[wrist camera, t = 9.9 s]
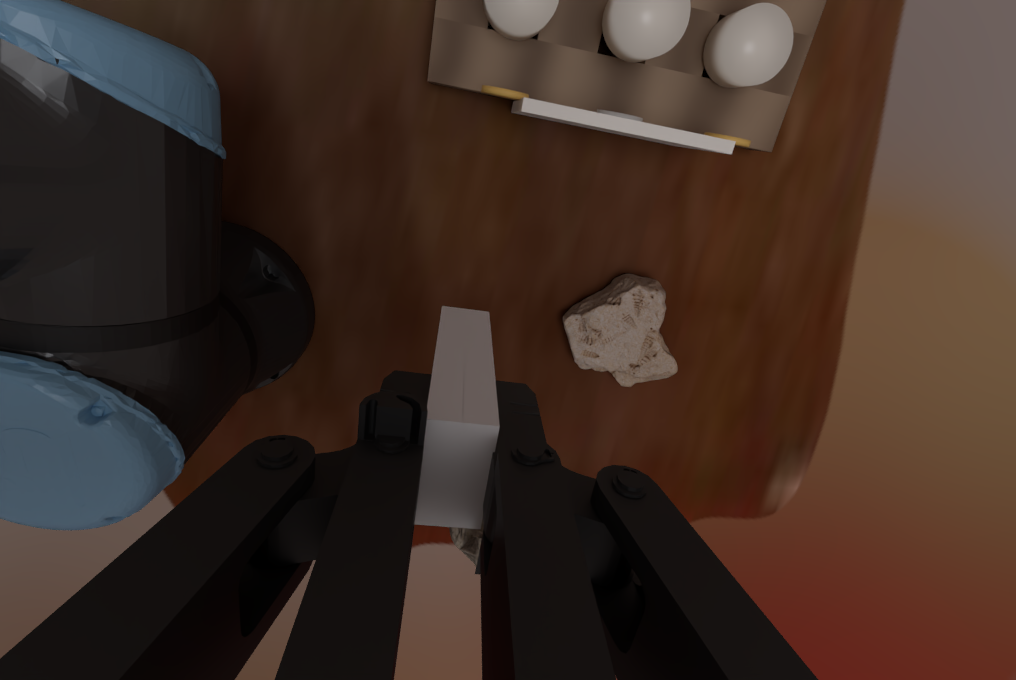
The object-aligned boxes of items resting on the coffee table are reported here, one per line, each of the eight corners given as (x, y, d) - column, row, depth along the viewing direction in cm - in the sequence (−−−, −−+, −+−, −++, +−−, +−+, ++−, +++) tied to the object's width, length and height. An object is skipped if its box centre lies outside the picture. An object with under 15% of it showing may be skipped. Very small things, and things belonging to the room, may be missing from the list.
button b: (585, 58, 37) (604, 48, 32) (602, -19, 35) (625, -43, 30) (647, 72, 38) (676, 65, 32) (667, -3, 36) (701, -24, 31)
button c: (679, 82, 40) (711, 77, 34) (699, 12, 38) (737, -6, 33) (736, 95, 40) (776, 92, 35) (759, 26, 39) (805, 11, 33)
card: (478, 106, 40) (479, 102, 31) (481, 90, 40) (482, 82, 31) (705, 152, 43) (768, 161, 33) (709, 137, 42) (775, 143, 33)
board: (430, 83, 39) (427, 80, 37) (452, -110, 35) (450, -130, 32) (752, 149, 43) (771, 152, 40) (811, -18, 38) (836, -29, 35)
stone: (649, 262, 46) (668, 278, 42) (664, 369, 51) (682, 394, 46) (554, 286, 47) (562, 305, 42) (578, 391, 51) (587, 417, 47)
